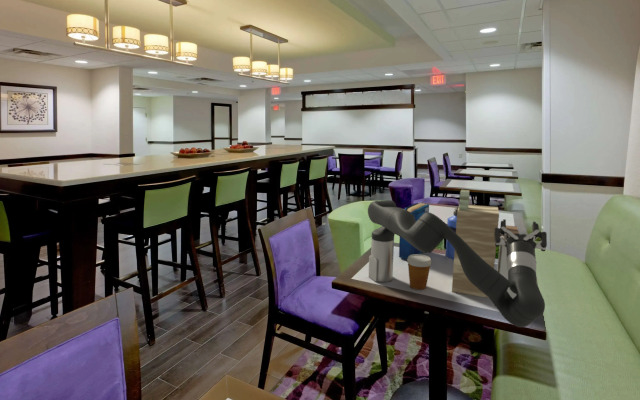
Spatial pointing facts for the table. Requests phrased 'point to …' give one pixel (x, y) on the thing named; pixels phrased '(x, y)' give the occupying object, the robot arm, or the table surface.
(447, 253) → the water bottle
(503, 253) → the grey rectangular block
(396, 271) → the table surface
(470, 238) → the birch rack
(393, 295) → the table surface
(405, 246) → the book
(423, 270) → the disposable coffee cup
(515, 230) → the walnut block
